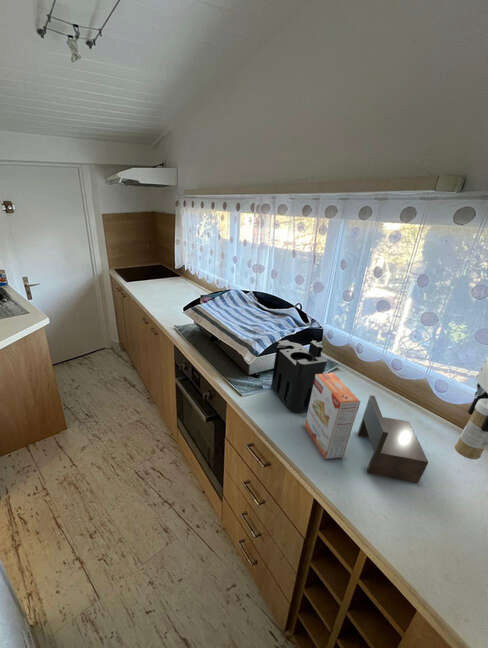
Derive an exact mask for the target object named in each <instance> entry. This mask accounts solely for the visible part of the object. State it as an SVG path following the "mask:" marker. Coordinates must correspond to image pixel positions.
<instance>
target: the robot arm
mask: <svg viewBox="0 0 488 648" xmlns="http://www.w3.org/2000/svg"><path fill="white" fill-rule="evenodd" d="M476 381H477V384H476V391H475V393H474V399H473V400H472V403H471V404H470V407H469V409H468V411H467V413H468V415H470V416H472V414H473V412H474V410H475V406H476V404H477V402H478V400H480V399H488V356H487V357H486V359H485V360H484V363H483V364H482V366H481V368H480V369H479V371H478V373H477V374H476ZM481 430H482V431H485V432H488V416H487V418H486V419H485V421H484V423H483V425H482V427H481Z"/></svg>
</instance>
